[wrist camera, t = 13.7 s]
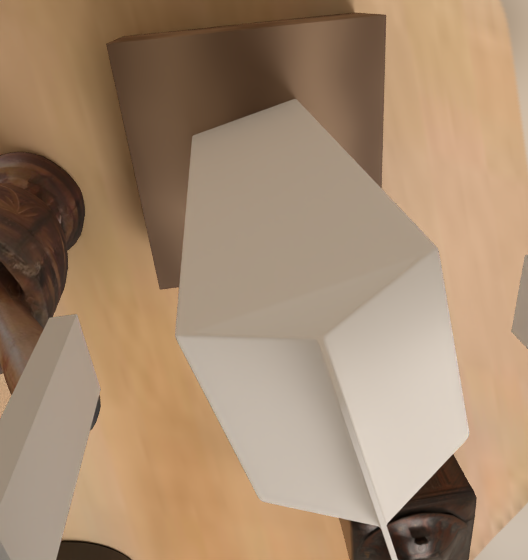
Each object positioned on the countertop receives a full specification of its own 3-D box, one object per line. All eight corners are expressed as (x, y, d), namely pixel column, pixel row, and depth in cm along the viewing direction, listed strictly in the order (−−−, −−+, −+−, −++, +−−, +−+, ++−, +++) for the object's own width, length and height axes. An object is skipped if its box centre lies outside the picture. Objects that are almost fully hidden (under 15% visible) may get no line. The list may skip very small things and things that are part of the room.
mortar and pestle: (122, 125, 32) (28, 267, 15) (155, 245, 37) (110, 465, 19) (-59, 154, 32) (-369, 334, 15) (-5, 272, 36) (-196, 521, 19)
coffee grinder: (433, 404, 47) (548, 603, 32) (429, 483, 53) (525, 687, 37) (270, 432, 47) (303, 649, 31) (283, 509, 52) (316, 726, 37)
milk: (295, 97, 27) (533, 324, 8) (324, 198, 30) (549, 548, 11) (188, 136, 27) (161, 447, 8) (227, 233, 30) (275, 630, 11)
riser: (166, 248, 37) (159, 289, 32) (123, 36, 30) (106, 43, 25) (354, 225, 38) (379, 261, 32) (355, 12, 31) (386, 14, 25)
